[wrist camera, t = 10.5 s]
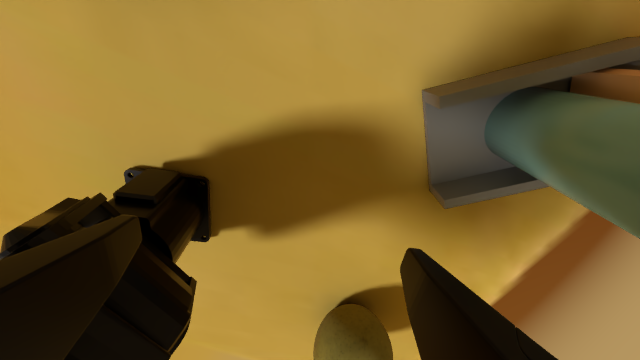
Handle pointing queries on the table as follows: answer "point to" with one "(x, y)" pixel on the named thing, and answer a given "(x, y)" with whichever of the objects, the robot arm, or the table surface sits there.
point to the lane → (472, 114)
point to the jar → (574, 148)
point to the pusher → (609, 84)
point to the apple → (352, 336)
